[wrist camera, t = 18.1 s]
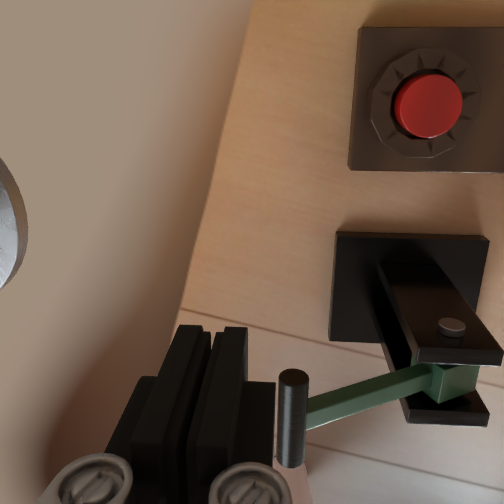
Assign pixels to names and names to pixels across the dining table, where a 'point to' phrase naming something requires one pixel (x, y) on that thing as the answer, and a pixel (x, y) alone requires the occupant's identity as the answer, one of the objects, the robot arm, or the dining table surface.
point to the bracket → (415, 310)
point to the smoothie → (296, 482)
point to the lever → (357, 399)
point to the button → (428, 105)
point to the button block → (418, 63)
